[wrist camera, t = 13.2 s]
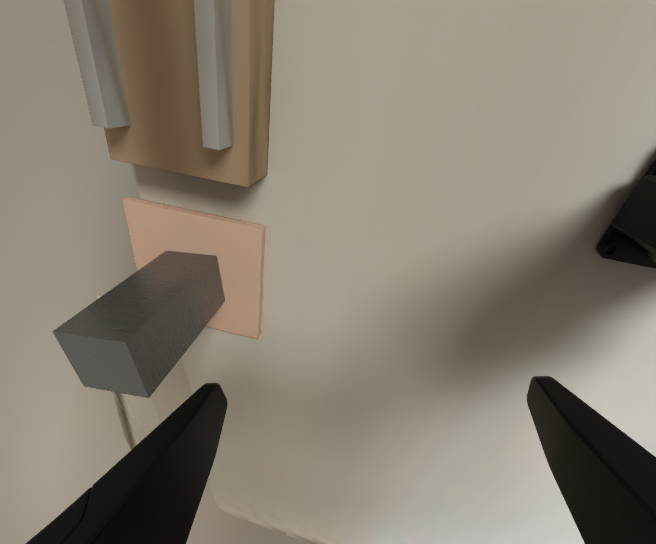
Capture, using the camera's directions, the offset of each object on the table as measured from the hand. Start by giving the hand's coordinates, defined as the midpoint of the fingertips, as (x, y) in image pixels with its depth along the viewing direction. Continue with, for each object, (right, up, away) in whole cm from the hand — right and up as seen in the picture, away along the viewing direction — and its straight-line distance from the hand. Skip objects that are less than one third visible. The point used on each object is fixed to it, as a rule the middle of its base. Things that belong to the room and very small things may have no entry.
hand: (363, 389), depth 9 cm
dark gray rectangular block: (-11, +3, +15) cm, 18 cm away
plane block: (-8, +15, +8) cm, 19 cm away
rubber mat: (-11, +3, +15) cm, 19 cm away
